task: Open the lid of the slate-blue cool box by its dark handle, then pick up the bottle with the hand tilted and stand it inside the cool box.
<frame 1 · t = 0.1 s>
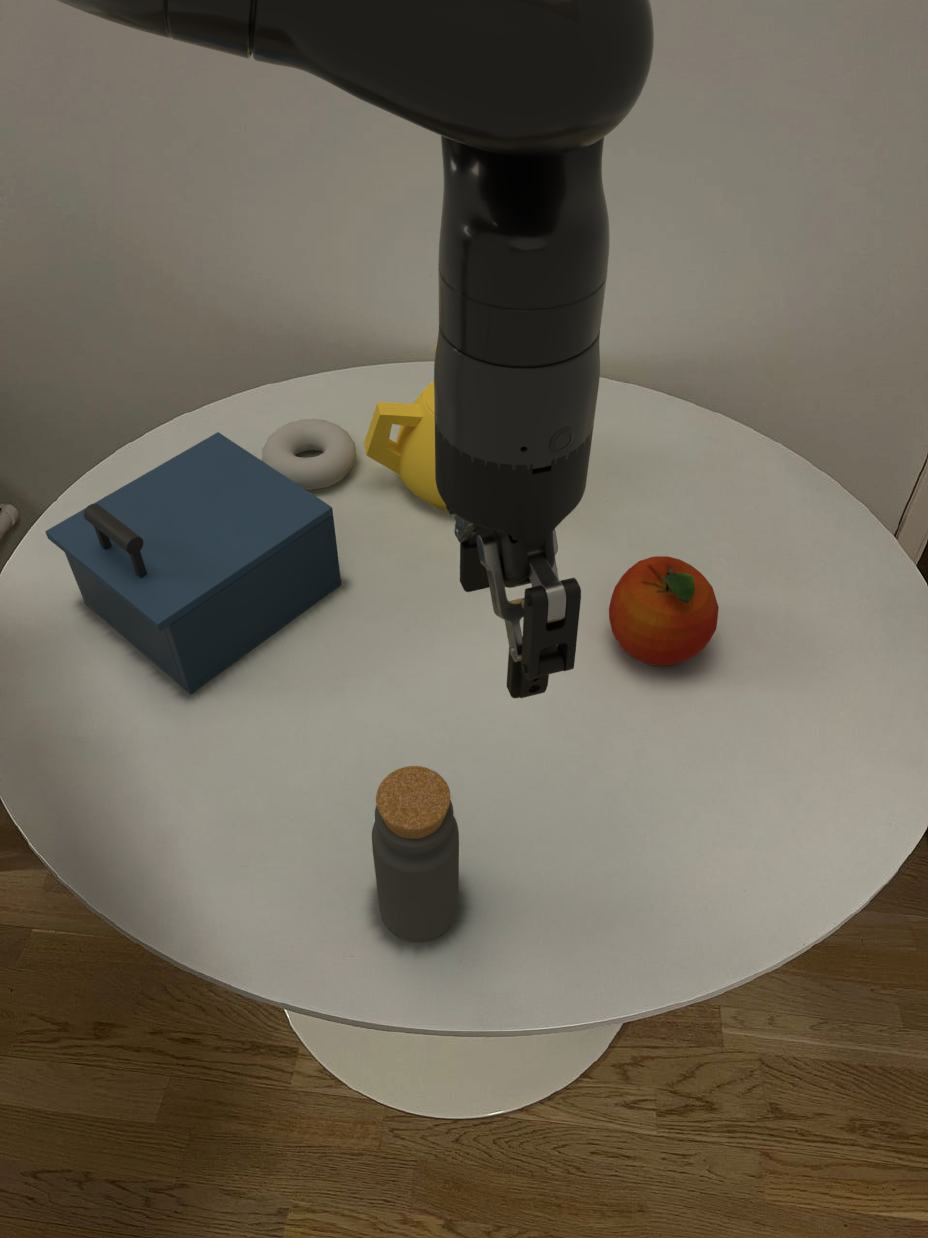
hand: (501, 636, 59), 25 cm above the table, tool pointing down, fingers open, 8 cm apart
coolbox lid: (186, 503, 87), point 12 cm above the table, hinge at 0.0°
donut: (311, 467, 108), on the table
fruit: (655, 643, 92), on the table
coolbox: (214, 594, 95), on the table
bottle: (419, 906, 75), on the table
teapot: (468, 475, 108), on the table
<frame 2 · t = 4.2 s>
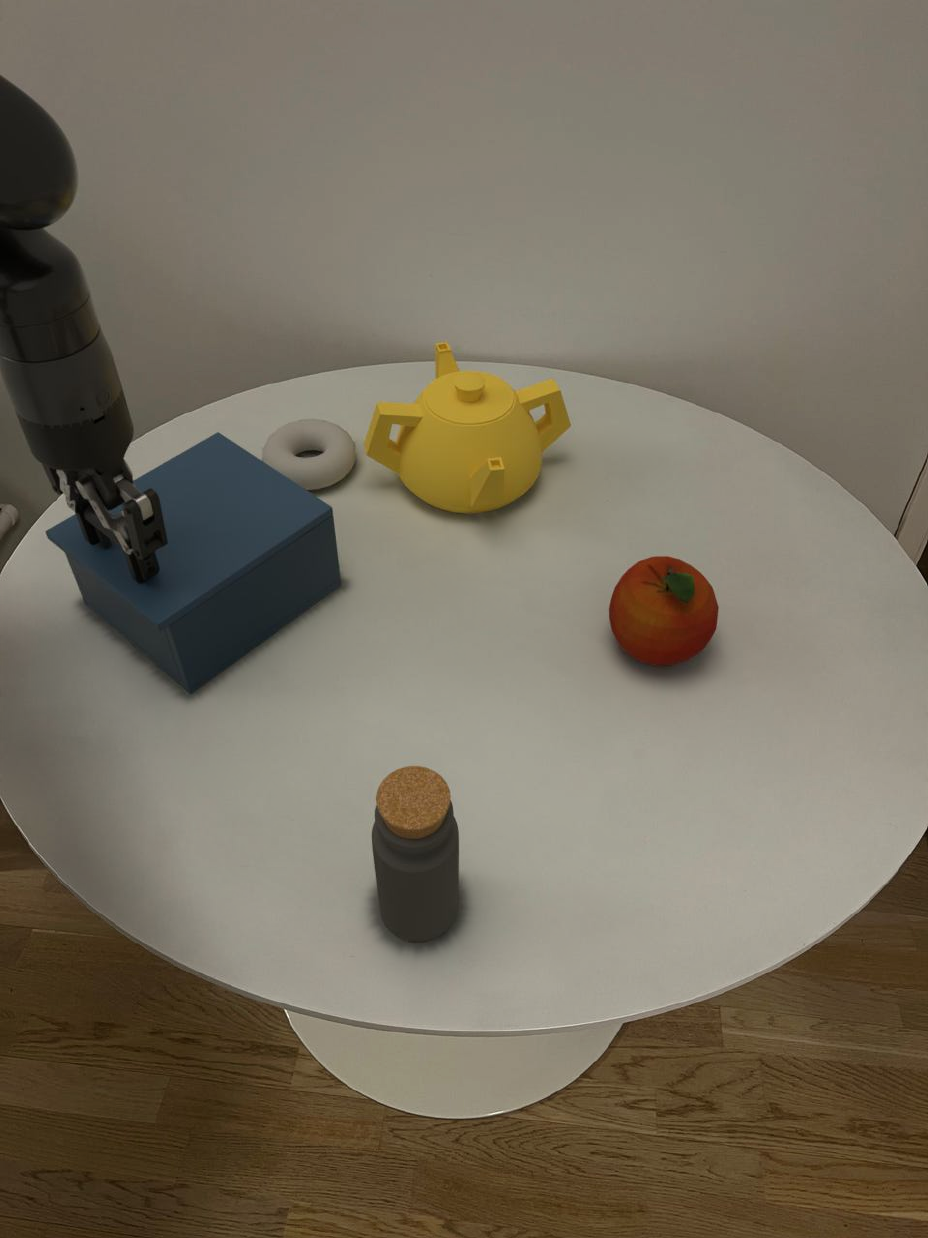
hand: (123, 557, 84), 10 cm above the table, tool pointing down, fingers closed on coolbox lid, 6 cm apart
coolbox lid: (186, 503, 87), point 12 cm above the table, hinge at 0.0°, touching gripper
everything else where it was.
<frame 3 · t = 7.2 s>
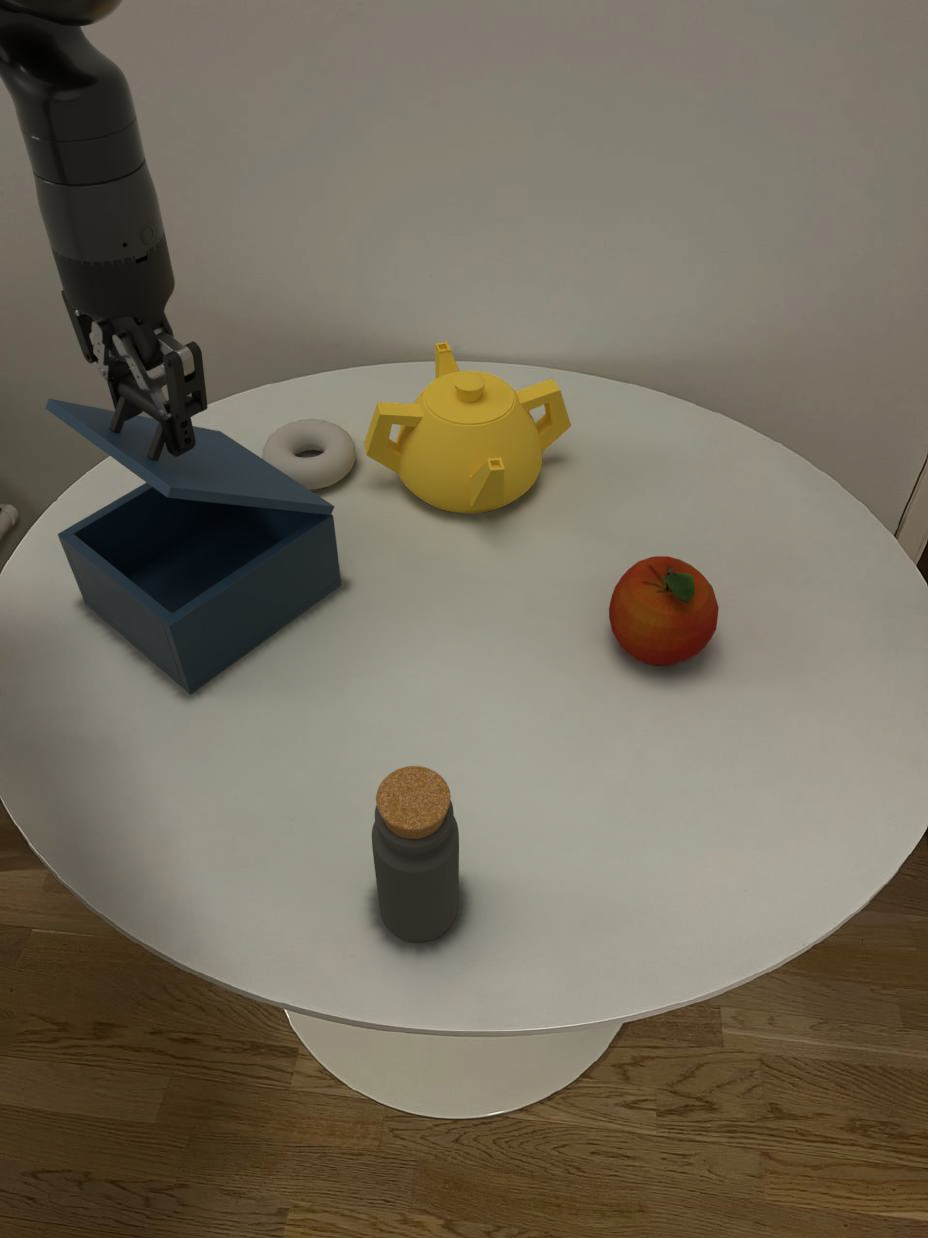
hand: (156, 432, 80), 20 cm above the table, tool pointing down, fingers closed on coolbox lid, 6 cm apart
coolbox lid: (206, 436, 84), point 17 cm above the table, hinge at 38.0°, touching gripper
everything else where it was.
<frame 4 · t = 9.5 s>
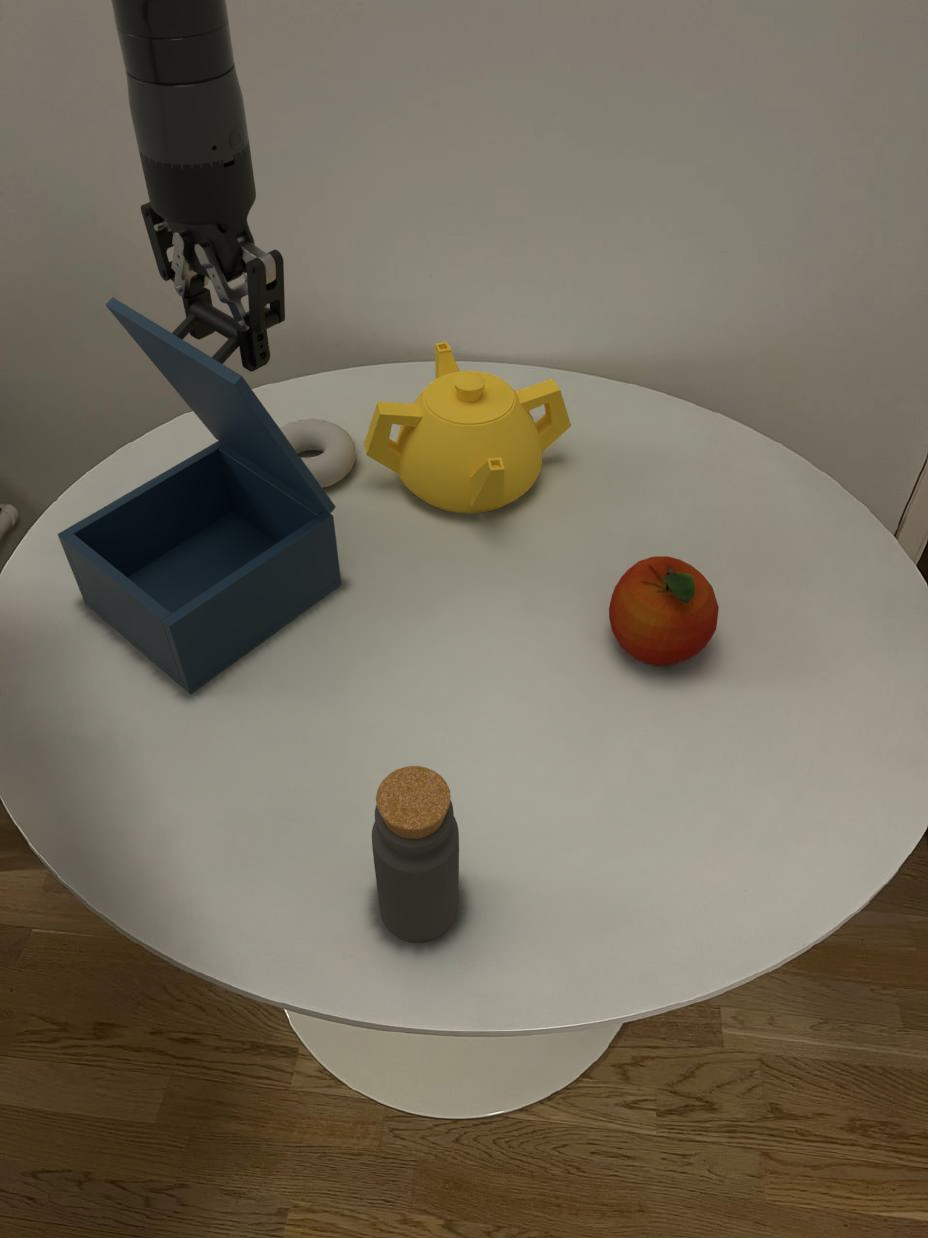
hand: (230, 349, 81), 24 cm above the table, tool pointing down, fingers closed on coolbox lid, 6 cm apart
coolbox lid: (244, 392, 85), point 19 cm above the table, hinge at 67.3°, touching gripper
everything else where it was.
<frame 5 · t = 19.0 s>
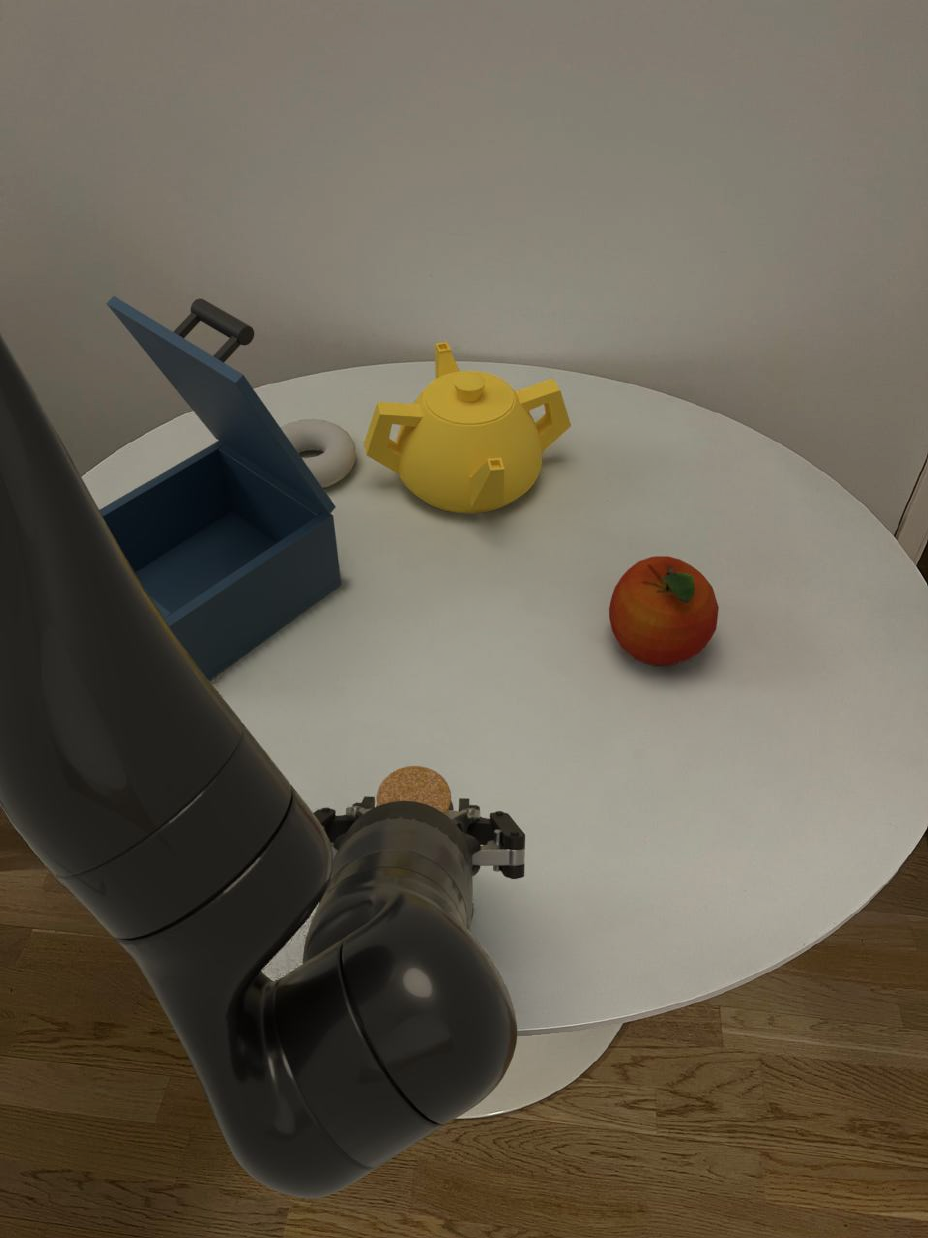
hand: (416, 812, 68), 10 cm above the table, tool tilted 45°, fingers closed on bottle, 5 cm apart
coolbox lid: (245, 392, 85), point 19 cm above the table, hinge at 67.7°
bottle: (419, 906, 75), on the table, touching gripper
everything else where it was.
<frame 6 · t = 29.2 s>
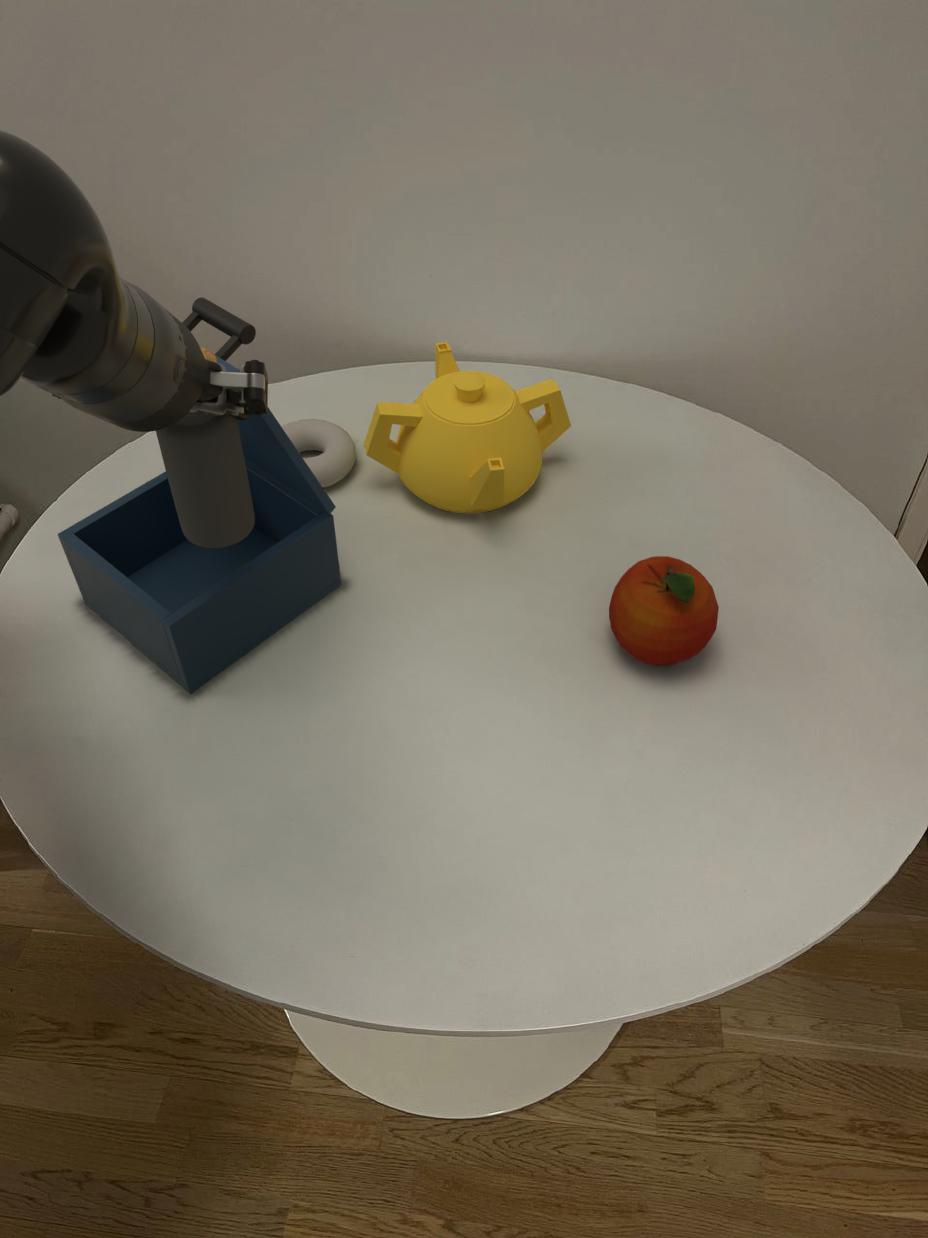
hand: (199, 404, 74), 25 cm above the table, tool tilted 45°, fingers closed on bottle, 5 cm apart
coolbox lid: (245, 391, 85), point 19 cm above the table, hinge at 68.3°, touching gripper
bottle: (219, 526, 81), point 15 cm above the table, touching gripper
everything else where it was.
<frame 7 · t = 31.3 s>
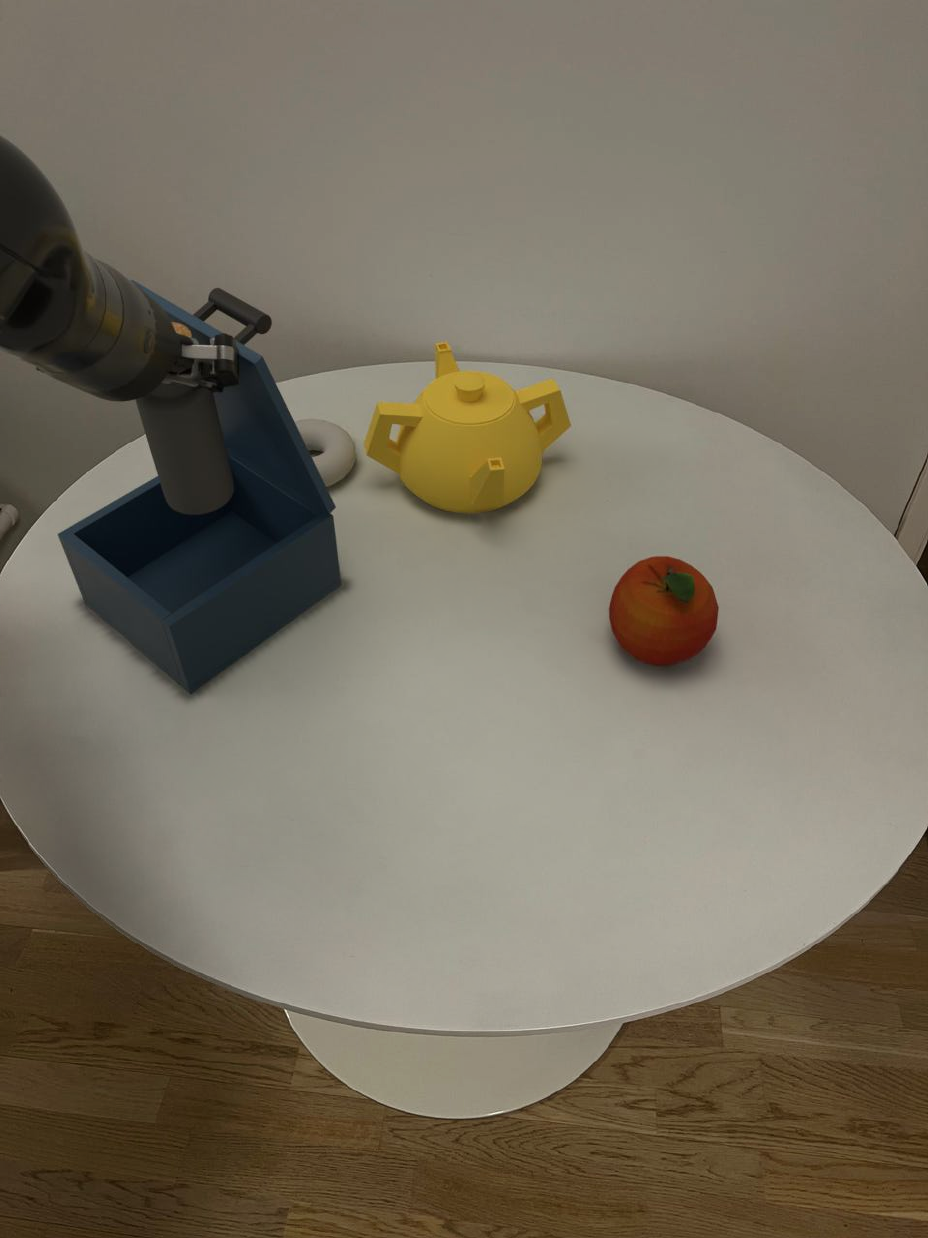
hand: (177, 378, 79), 24 cm above the table, tool tilted 45°, fingers closed on bottle, 6 cm apart
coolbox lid: (254, 385, 85), point 19 cm above the table, hinge at 73.9°, touching gripper, hand
bottle: (200, 494, 85), point 13 cm above the table, touching gripper
everything else where it was.
when the fingers open (11 cm above the table, at t = 35.8 s): bottle stays where it is, resting on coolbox.
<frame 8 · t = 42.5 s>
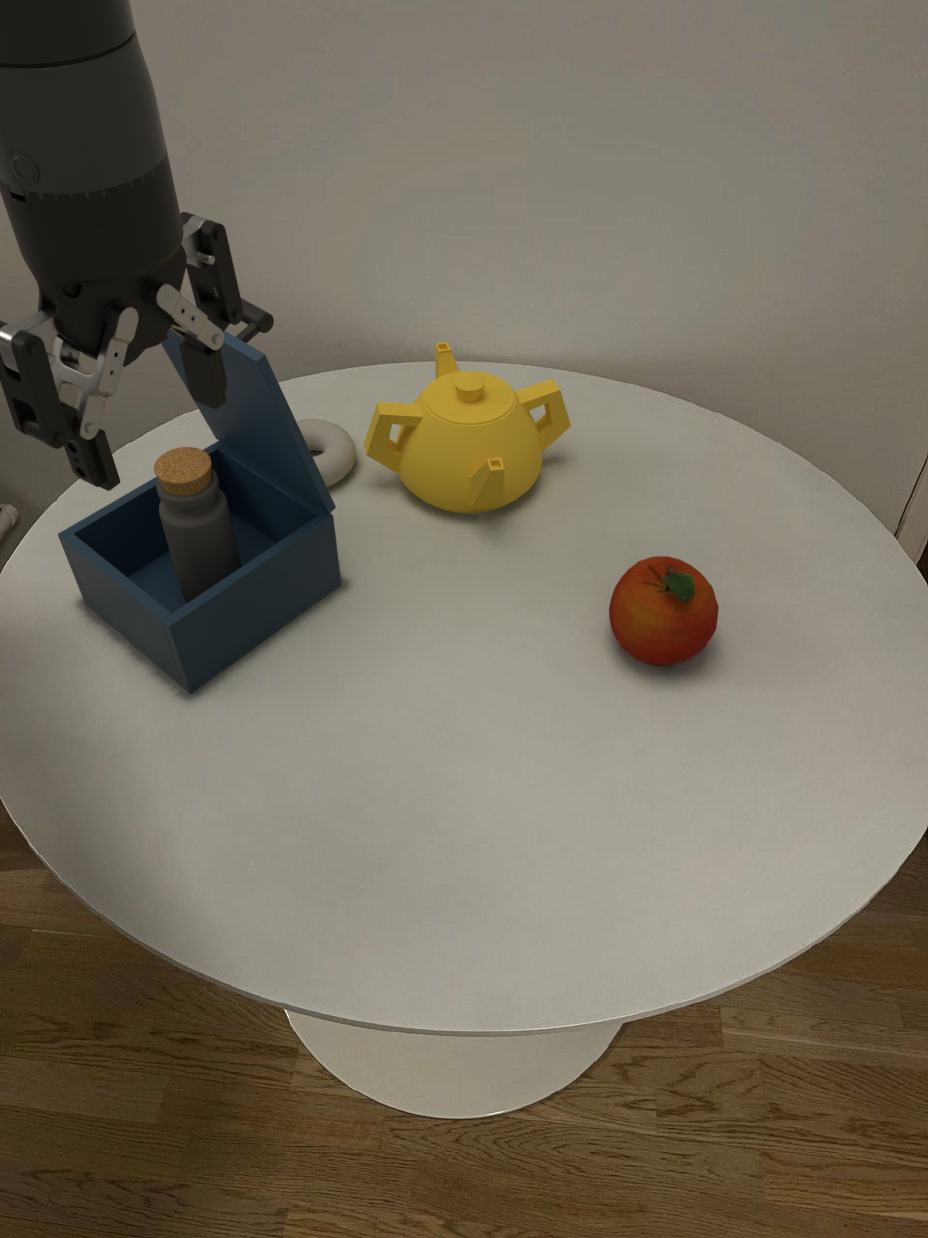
hand: (158, 441, 57), 34 cm above the table, tool pointing down, fingers open, 8 cm apart
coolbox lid: (255, 385, 86), point 19 cm above the table, hinge at 74.7°
bottle: (214, 589, 95), point 1 cm above the table, touching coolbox
everything else where it was.
at the end: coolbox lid at +75° (first picture: +0°); bottle inside the target area in the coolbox (0.2 cm from its centre), point 0.8 cm above the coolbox's base; bottle tilted 0° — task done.
